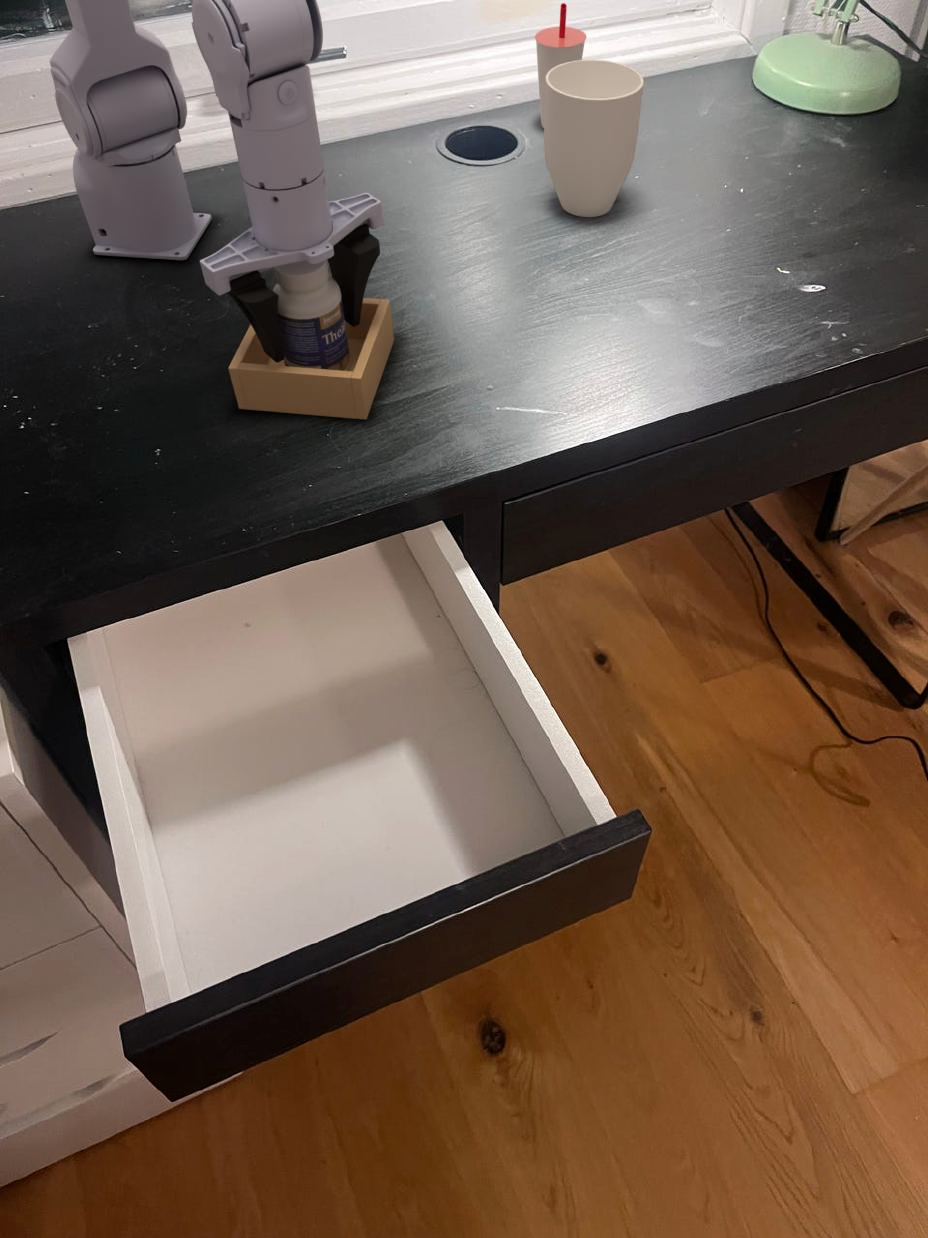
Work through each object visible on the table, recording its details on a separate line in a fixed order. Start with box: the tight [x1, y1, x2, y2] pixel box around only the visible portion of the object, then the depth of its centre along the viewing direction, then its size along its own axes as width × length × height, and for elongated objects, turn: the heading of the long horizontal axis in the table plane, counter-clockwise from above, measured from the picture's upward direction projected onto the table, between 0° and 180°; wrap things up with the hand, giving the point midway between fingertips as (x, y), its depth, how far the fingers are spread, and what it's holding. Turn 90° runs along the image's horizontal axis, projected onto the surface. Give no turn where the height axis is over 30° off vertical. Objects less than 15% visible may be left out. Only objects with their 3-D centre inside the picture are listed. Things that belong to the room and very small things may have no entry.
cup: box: [534, 2, 587, 129], centre depth 102 cm, size 5×5×12 cm
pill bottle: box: [272, 259, 350, 371], centre depth 75 cm, size 5×5×10 cm
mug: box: [543, 59, 645, 218], centre depth 92 cm, size 12×9×12 cm
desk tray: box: [228, 297, 395, 421], centre depth 78 cm, size 11×11×4 cm
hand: (312, 337), depth 77 cm, fingers open, 7 cm apart
